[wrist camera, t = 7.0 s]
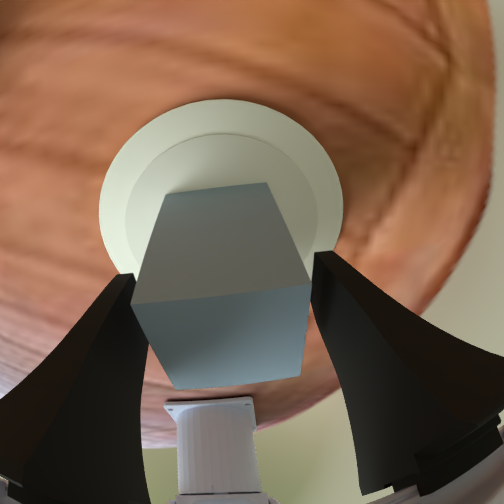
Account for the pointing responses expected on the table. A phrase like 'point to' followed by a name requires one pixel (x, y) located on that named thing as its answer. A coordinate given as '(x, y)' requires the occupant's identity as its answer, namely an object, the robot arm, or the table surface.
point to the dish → (219, 174)
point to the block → (223, 289)
